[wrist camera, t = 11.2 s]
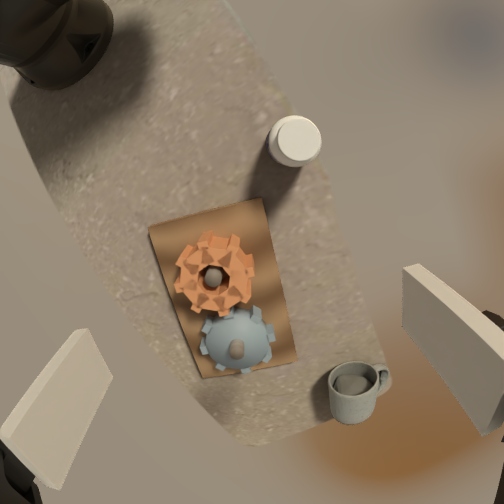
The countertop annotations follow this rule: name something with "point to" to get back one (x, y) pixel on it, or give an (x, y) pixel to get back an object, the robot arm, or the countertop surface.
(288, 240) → the countertop surface
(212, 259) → the terracotta gear
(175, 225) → the walnut board
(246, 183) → the countertop surface
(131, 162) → the countertop surface
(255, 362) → the slate gear
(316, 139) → the pill bottle
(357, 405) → the ceramic mug
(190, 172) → the countertop surface
